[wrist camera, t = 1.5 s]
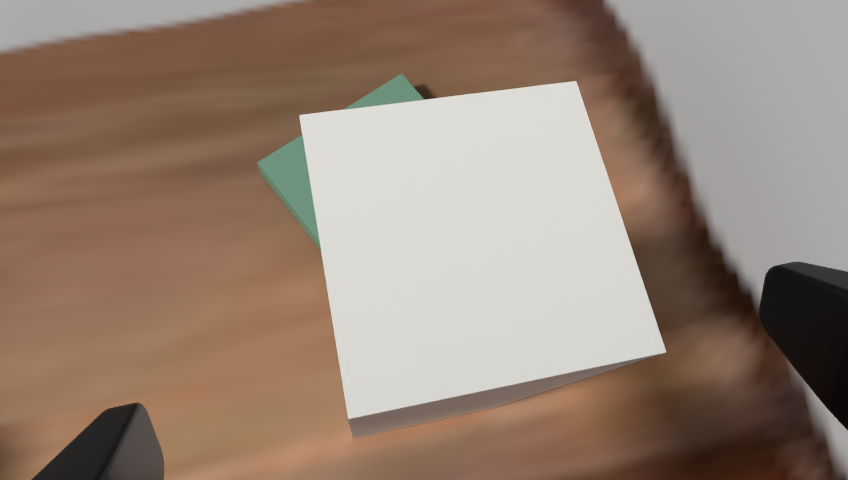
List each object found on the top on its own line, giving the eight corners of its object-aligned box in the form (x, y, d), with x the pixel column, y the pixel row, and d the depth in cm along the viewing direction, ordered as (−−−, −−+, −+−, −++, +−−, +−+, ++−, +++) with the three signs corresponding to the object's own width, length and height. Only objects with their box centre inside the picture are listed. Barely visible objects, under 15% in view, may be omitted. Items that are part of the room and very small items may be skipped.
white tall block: (490, 408, 20) (665, 351, 9) (353, 438, 19) (348, 419, 8) (459, 277, 21) (576, 81, 10) (330, 300, 20) (299, 115, 9)
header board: (484, 185, 23) (500, 153, 20) (347, 284, 21) (345, 262, 18) (399, 88, 24) (404, 46, 21) (261, 174, 22) (249, 140, 19)
